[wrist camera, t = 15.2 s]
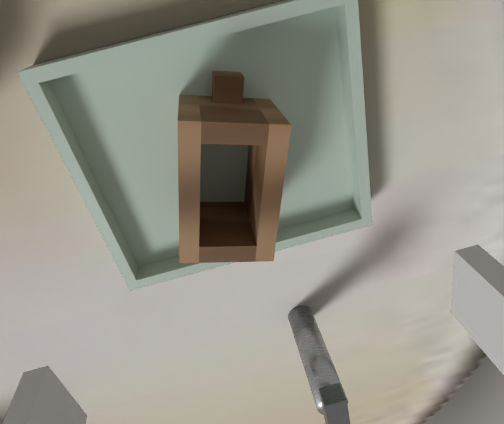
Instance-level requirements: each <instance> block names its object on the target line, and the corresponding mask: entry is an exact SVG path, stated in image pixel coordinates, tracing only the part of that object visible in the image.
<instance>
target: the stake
mask: <svg viewBox="0 0 504 424" xmlns="http://www.w3.org/2000/svg"><path fill="white" fill-rule="evenodd" d="M288 319H289V322H290V325H291V328H292V331H293V335H294V338H295V341H296V344H297V347H298V350H299V353H300V356H301V360H302V363H303V366H304V369H305V372H306V375H307V378H308V381H309V385H310V388H311V391H312V394H313V397H314V400H315V403H316V407H317V410H318V412H319V413H321V414H323V415H324V418H325V422H326V424H350V420H349V413H348V406H347V404H348V400H347V397H346V395H345V392H344V390H343V387H342V385H341V382H340V380H339V377H338V375H337V372H336V370H335V367H334V365H333V363H332V360H331V358H330V355H329V353H328V350H327V348H326V345H325V343H324V340H323V338H322V335H321V333H320V330H319V328H318V325H317V323H316V320H315V318H314V315H313V313H312V310H311V309H310V308H309V307H306V306H299V307H296V308H294V309H293V310H291V311H290V313H289V315H288Z"/></svg>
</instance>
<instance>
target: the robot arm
mask: <svg viewBox="0 0 504 424" xmlns="http://www.w3.org/2000/svg"><path fill="white" fill-rule="evenodd" d="M450 312H451V313H452V315H453V316H454V317H455V318H456V319H457V321H458V322H459V323H460V324H461V325H462V326H463V328H464V329H465V330H466V331H467V332H468V334H469V335H470V336H471V337H472V338H473V339H474V341H475V342H476V343H477V344H478V345H479V347H480V348H481V349H482V350H483V351H484V352H485V354H486V355H487V356H488V357H489V358H490V359H491V361H492V362H493V363H494V364H495V365H496V367H497V368H498V369H499V370H500V371H501V372H502V374H503V375H504V266H503V265H501V264H500V263H499V262H498V261H497V260H495V259H494V258H493V257H492V256H491V255H490V254H488V253H487V252H486V251H485V250H484V249H482V248H481V247H480V246H479V245H475V246H471V247H468V248H464V249H461V250H457V251H455V256H454V269H453V281H452V294H451V307H450ZM86 419H87V415H86V413H85V412H84V411H83V410H82V408H81V407H80V406H79V405H78V403H77V402H76V401H75V399H74V398H73V397H72V396H71V394H70V393H69V392H68V390H67V389H66V388H65V387H64V385H63V384H62V383H61V381H60V380H59V379H58V378H57V376H56V375H55V374H54V373H53V371H52V370H51V369H50V367H49V366H45V367H42V368H38V369H35V370H31V371H27V372H24V373H23V375H22V378H21V380H20V382H19V385H18V387H17V390H16V392H15V395H14V397H13V399H12V402H11V404H10V407H9V409H8V411H7V414H6V416H5V419H4V421H3V423H2V424H86Z"/></svg>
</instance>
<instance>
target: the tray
mask: <svg viewBox="0 0 504 424" xmlns="http://www.w3.org/2000/svg"><path fill="white" fill-rule="evenodd" d="M213 70H214V71H230V72H241V73H242V75H243V76H244V90H243V98H260V99H270V100H271V101H272V102H273V103H274V104H275V106H276V107H277V108H278V109H279V110H280V112H281V113H282V114H283V115H284V117H285V118H286V119H287V120H288V121H289V123H290V124H291V132H290V139H289V147H288V154H287V162H286V170H285V177H284V185H283V192H282V200H281V207H280V215H279V222H278V230H277V238H276V245H275V251H278V250H282V249H286V248H289V247H293V246H297V245H300V244H304V243H308V242H311V241H315V240H319V239H322V238H326V237H330V236H333V235H337V234H341V233H344V232H348V231H352V230H355V229H359V228H363V227H366V226H370V225H372V210H371V194H370V179H369V163H368V147H367V132H366V116H365V101H364V85H363V69H362V54H361V38H360V22H359V7H358V0H284V1H280V2H276V3H272V4H268V5H265V6H261V7H257V8H253V9H249V10H245V11H241V12H237V13H233V14H230V15H226V16H222V17H218V18H214V19H210V20H206V21H202V22H198V23H195V24H191V25H187V26H183V27H179V28H175V29H171V30H167V31H164V32H160V33H156V34H152V35H148V36H144V37H140V38H136V39H132V40H129V41H125V42H121V43H117V44H113V45H109V46H105V47H101V48H97V49H94V50H90V51H86V52H82V53H78V54H74V55H70V56H66V57H62V58H59V59H55V60H51V61H47V62H43V63H39V64H35V65H32V66H30V67H28V68H25V69H23V70H21V71H19V72H17V73H18V75H19V77H20V79H21V81H22V83H23V85H24V86H25V88H26V90H27V92H28V94H29V96H30V98H31V100H32V102H33V104H34V106H35V108H36V110H37V112H38V114H39V116H40V117H41V119H42V121H43V123H44V125H45V127H46V129H47V131H48V133H49V135H50V137H51V139H52V141H53V143H54V145H55V147H56V148H57V150H58V152H59V154H60V156H61V158H62V160H63V162H64V164H65V166H66V168H67V170H68V172H69V174H70V176H71V178H72V179H73V181H74V183H75V185H76V187H77V189H78V191H79V193H80V195H81V197H82V199H83V201H84V203H85V205H86V207H87V209H88V210H89V212H90V214H91V216H92V218H93V220H94V222H95V224H96V226H97V228H98V230H99V232H100V234H101V236H102V238H103V240H104V241H105V243H106V245H107V247H108V249H109V251H110V253H111V255H112V257H113V259H114V261H115V263H116V265H117V267H118V269H119V271H120V272H121V274H122V276H123V278H124V280H125V282H126V284H127V286H128V288H129V290H130V291H131V290H135V289H139V288H142V287H146V286H150V285H153V284H157V283H161V282H164V281H168V280H172V279H175V278H179V277H183V276H186V275H190V274H194V273H197V272H201V271H205V270H208V269H212V268H216V267H219V266H223V265H227V264H231V263H234V262H215V263H179V192H178V105H179V95H199V96H212V73H213ZM248 148H249V145H224V144H201V167H200V202H244V198H245V185H246V173H247V160H248Z"/></svg>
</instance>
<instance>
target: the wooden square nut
mask: <svg viewBox="0 0 504 424" xmlns="http://www.w3.org/2000/svg"><path fill="white" fill-rule="evenodd" d="M243 90H244V76H243V75H242V73H241V72H230V71H214V70H213V73H212V96H199V95H179V105H178V192H179V263H215V262H254V261H273V260H274V253H275V245H276V238H277V230H278V222H279V215H280V207H281V200H282V192H283V185H284V177H285V170H286V162H287V154H288V147H289V139H290V132H291V124H290V123H289V121H288V120H287V119H286V118H285V117H284V115H283V114H282V113H281V112H280V110H279V109H278V108H277V107H276V106H275V104H274V103H273V102H272V101H271V100H270V99H260V98H243ZM201 144H224V145H249V148H248V160H247V173H246V185H245V198H244V202H200V167H201Z"/></svg>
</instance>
